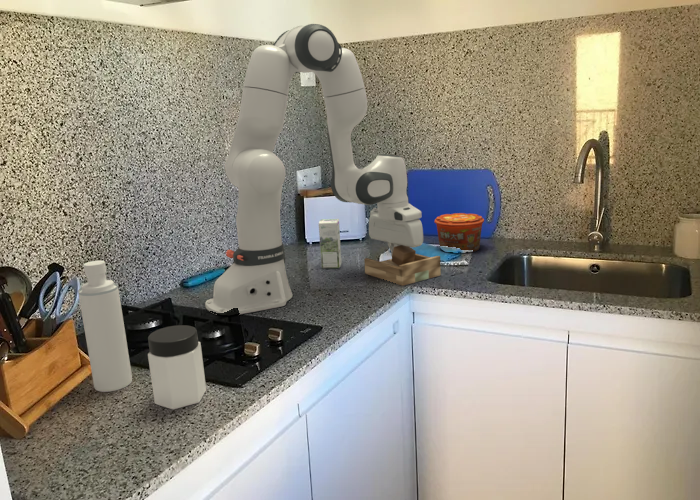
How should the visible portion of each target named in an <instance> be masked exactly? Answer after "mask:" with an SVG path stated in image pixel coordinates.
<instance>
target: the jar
mask: <svg viewBox="0 0 700 500" xmlns="http://www.w3.org/2000/svg"><path fill="white" fill-rule="evenodd" d="M198 335H199V334H198V330H197V328H195V327H194V326H191V325H184V324H183V325H182V324H180V325H179V324H178V325H170V326H165V327H163V328H159V329H156V330H154V331H153V332H151V333H150V334H149V335H148V337H147V341H148V347H149V349H148V350H149V352H148V353H147V359H148V360H147V361H148V364H149V366H148V367H149V372H150V378H151V379H150V380H151V385H152V394H153V401H154V404H155V405H158V406H161V407H162V408H167V409H170V410H172V411H175V410H177V409H181V408H184V407H188V406H191V405H195V404H199V403H200V402H201V400H202V398H203V397H204V395H205V393H206V392H207V386H206V377H205V375H206V374H205V369H204V361H203V351H202V345H201V343H202V342H201V341H199V337H198Z"/></svg>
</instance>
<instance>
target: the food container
mask: <svg viewBox="0 0 700 500" xmlns="http://www.w3.org/2000/svg"><path fill="white" fill-rule="evenodd" d="M433 222H434V224H435V225H436V230H437V231H436V232H437V238H438V243H439V244H438V245H440V246H448V247H456V248H460V249H461V250H473V252H472V253H475V252H477V251H479V250H480V246H481V236H482V230H483V224H484V222H485V219H484V217H483V216H482V215H479V214H476V213H465V212H459V213H458V212H457V213H456V212H455V213H451V214H450V213H445V214H441V215H439V216H437V217H436V218H435V219H434V221H433ZM440 246H439V247H440Z"/></svg>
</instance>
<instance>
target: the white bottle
mask: <svg viewBox="0 0 700 500" xmlns="http://www.w3.org/2000/svg"><path fill="white" fill-rule="evenodd" d="M83 271H84V275H85V276H86V281H87V283H86V282H85V283H84V284H82V285H81V288H79V289H78V291H77V292H78V298H79V306H80V310H81V311H80V312H81V317H82V322H83V328H84V334H85V339H86V347H87V353H88V359H89V363H90V371H91V376H92V382H93V388H94V389H95V390H96V391H98V392H101V393H102V392H103V393H104V392H105V393H107V392H108V393H109V392H115V391H116V392H117V391H120V390H122V389H124V388H126V387H128V386H129V385H130V384H131V383H132V382H133V376H132V375H133V374H132V367H131V362H130V355H129V349H128V342H127V334H126V329H125V324H124V323H125V322H124V315H123V310H122V303H121V298H120V290H119V285H118V283H115V282H114V281H113V280H111V279H107V275H106V273H107V267H106V261H104V260H99V259H98V260H93V261H92V260H91V261H88V262H85V263H83Z"/></svg>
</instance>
